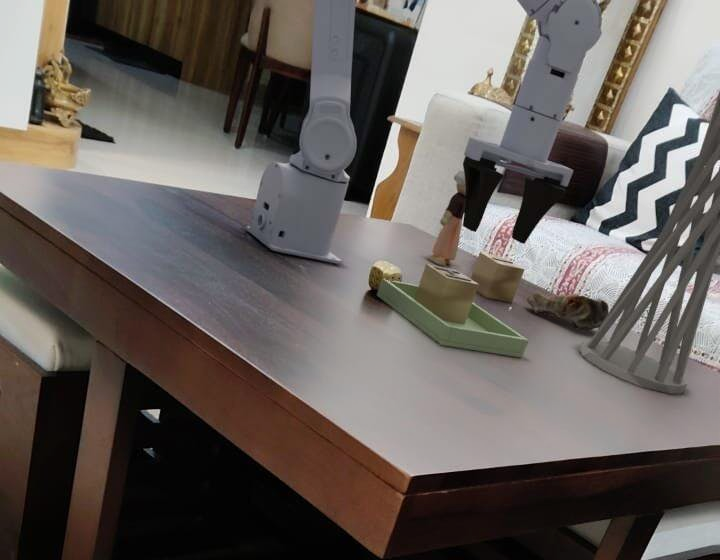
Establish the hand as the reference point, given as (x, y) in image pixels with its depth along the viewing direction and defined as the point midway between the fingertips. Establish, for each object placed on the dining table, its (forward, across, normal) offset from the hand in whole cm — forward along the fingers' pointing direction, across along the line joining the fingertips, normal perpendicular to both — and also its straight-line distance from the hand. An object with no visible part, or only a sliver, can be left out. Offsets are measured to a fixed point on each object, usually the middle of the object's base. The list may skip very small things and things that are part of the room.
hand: (493, 235), depth 119 cm
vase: (+9, +15, -16) cm, 23 cm away
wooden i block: (+8, +8, +7) cm, 14 cm away
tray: (+8, -10, -11) cm, 17 cm away
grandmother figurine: (+9, +8, +20) cm, 23 cm away
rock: (+9, +16, 0) cm, 19 cm away
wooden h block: (+8, -10, -9) cm, 16 cm away
